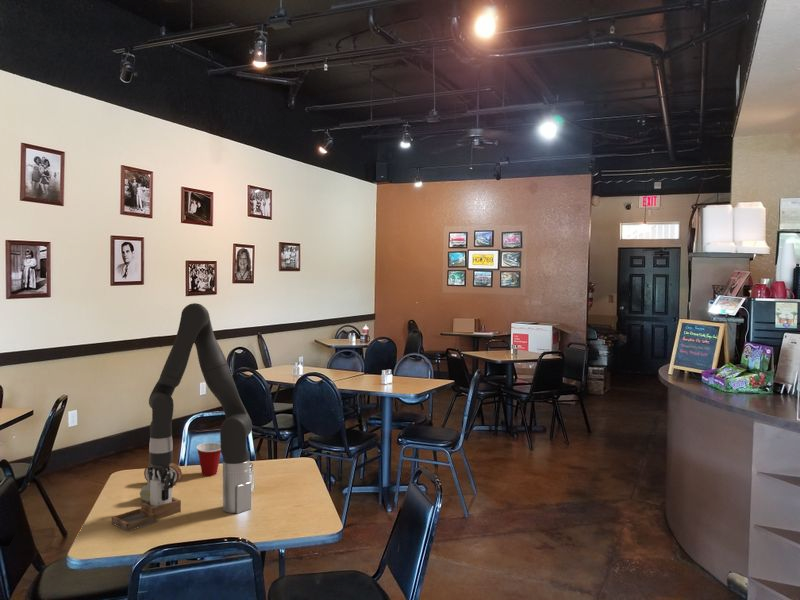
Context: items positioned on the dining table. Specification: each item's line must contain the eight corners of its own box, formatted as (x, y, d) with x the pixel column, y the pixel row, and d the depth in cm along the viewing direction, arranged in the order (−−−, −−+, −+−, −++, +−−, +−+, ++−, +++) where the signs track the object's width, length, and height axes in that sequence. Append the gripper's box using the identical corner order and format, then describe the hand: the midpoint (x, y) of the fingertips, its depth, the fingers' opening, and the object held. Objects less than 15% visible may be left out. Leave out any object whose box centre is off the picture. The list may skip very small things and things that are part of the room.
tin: (182, 484, 238) (182, 463, 238) (178, 486, 235) (178, 465, 235) (147, 481, 241) (147, 461, 240) (142, 484, 237) (142, 463, 237)
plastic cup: (202, 480, 243) (202, 450, 243) (191, 473, 251) (191, 445, 251) (227, 474, 250) (227, 446, 250) (216, 468, 258) (216, 441, 258)
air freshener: (135, 502, 218) (135, 475, 218) (150, 494, 226) (150, 468, 226) (162, 505, 215) (162, 477, 215) (175, 497, 223) (175, 470, 223)
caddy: (183, 512, 208) (183, 501, 208) (127, 531, 192) (127, 519, 192) (167, 506, 214) (167, 495, 214) (111, 523, 198) (111, 511, 198)
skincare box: (156, 517, 204) (156, 482, 204) (149, 514, 207) (149, 480, 206) (172, 512, 209) (172, 478, 208) (165, 509, 211) (165, 475, 211)
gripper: (182, 450, 206) (182, 500, 206) (159, 443, 214) (159, 491, 215) (162, 455, 200) (162, 506, 200) (139, 448, 208) (139, 496, 209)
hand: (161, 498), depth 208 cm, fingers closed on skincare box, 4 cm apart
